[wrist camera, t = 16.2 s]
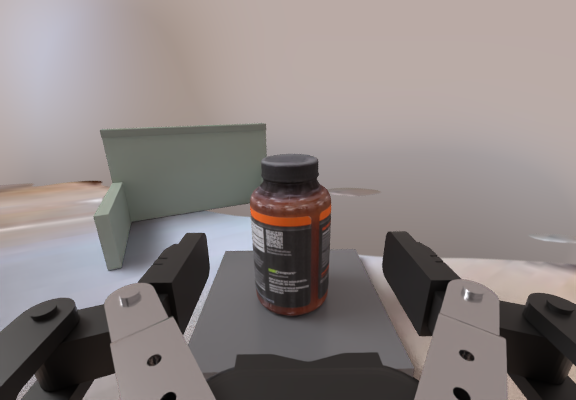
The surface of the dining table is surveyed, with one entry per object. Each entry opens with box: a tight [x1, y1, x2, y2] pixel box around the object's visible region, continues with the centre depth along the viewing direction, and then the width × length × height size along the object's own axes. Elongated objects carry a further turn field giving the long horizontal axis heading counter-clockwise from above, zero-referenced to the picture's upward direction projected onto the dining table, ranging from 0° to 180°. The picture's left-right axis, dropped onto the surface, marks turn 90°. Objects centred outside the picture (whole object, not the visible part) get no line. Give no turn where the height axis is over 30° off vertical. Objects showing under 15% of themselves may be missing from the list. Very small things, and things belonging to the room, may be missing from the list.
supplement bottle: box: [250, 154, 331, 316], centre depth 20 cm, size 6×6×11 cm
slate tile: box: [188, 249, 414, 380], centre depth 23 cm, size 14×14×1 cm
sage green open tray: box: [93, 123, 267, 271], centre depth 36 cm, size 14×22×13 cm, turn 115°
